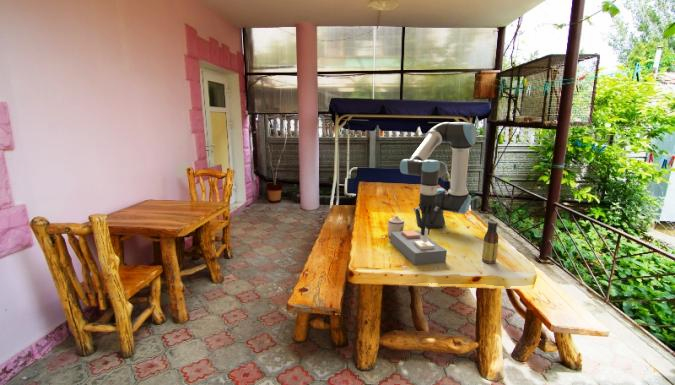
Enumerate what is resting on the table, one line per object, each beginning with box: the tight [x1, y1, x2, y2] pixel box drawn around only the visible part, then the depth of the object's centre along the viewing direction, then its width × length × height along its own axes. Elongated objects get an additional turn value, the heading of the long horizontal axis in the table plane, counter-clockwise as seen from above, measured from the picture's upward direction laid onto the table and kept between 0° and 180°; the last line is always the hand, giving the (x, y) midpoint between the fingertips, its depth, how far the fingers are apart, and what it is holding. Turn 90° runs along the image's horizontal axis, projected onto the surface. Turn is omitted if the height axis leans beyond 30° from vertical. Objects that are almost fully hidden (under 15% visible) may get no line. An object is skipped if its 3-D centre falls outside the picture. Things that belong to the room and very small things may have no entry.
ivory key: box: [414, 241, 434, 250], centre depth 154 cm, size 7×7×4 cm
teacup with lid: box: [387, 215, 405, 238], centre depth 184 cm, size 12×9×12 cm
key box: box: [390, 229, 447, 266], centre depth 161 cm, size 16×28×6 cm, turn 14°
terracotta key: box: [402, 229, 420, 239], centre depth 167 cm, size 7×7×4 cm
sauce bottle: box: [481, 220, 499, 265], centre depth 150 cm, size 6×6×20 cm
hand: (424, 241), depth 153 cm, fingers closed
